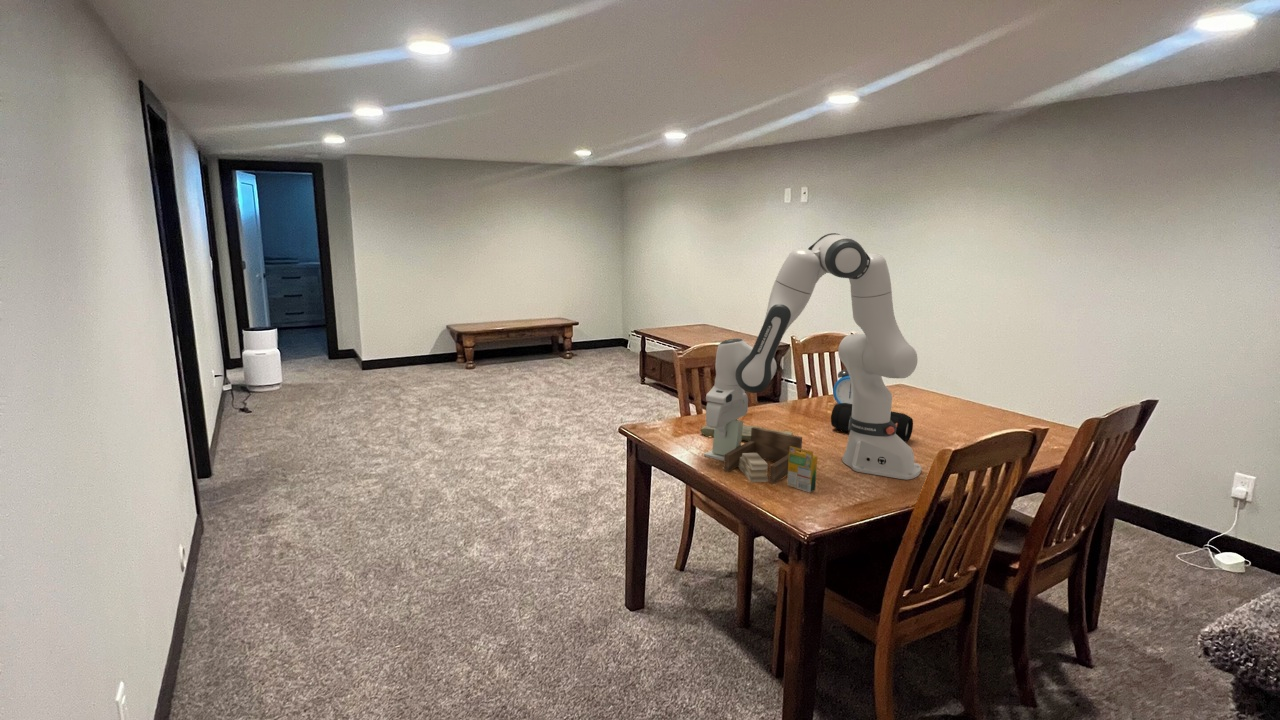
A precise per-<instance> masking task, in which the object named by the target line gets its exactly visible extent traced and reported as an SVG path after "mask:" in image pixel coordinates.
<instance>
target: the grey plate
mask: <svg viewBox="0 0 1280 720" xmlns="http://www.w3.org/2000/svg"><path fill="white" fill-rule="evenodd" d="M705 456H706V457H705ZM703 457H705V458H709V457H710V459H713V458H714V459H713V460H718V461H722V462H724V458H725V455H720V454H716V453H712V449H711V450H709V451H706V452H705V453H703Z"/></svg>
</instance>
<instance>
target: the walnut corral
mask: <svg viewBox="0 0 1280 720" xmlns="http://www.w3.org/2000/svg"><path fill="white" fill-rule="evenodd" d="M756 427H757V426H756ZM756 427H753V428H751V441H746V442H745V443H743V444H741V446H739V447H738V448H736V449H734V450H732V451H730V452H728V453H726V454H725V458H724V461H723V471H724V472H728V473H730V471H733V470H734V469H736V468H737V467H738V468H739V460H740V457H742V453H757V454H758V455H759V456H760V457H761V458H762V459H763V460H767V461H771V462H774V463H772V464H771V465H770V466H769V480H768V482H769V483H770V484H773V485H774V484H776V483H778V482H779V481H780V480H782V479H783V478H785V477H787V475H788V461H789V448H790V446H792V447H796V448H800V449H803V448H802V447H803V437H802V436H798V435H793V434H792V435H789V434H785V433H780V432H775V431H776V430H775V431H771V430H772V429H769V430H766V429H767V428H765V429H761V428H762V427H760V428H756ZM796 451H799V450H796ZM799 452H802V451H801V450H800V451H799Z"/></svg>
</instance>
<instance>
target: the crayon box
mask: <svg viewBox="0 0 1280 720" xmlns="http://www.w3.org/2000/svg"><path fill="white" fill-rule="evenodd" d="M796 450H799V451H800V450H801V452H799V451H796ZM817 469H818V456H817V455H814V451H810V450H808V449H804V448H802V449H800V448H796V447H792V446H790V448H789V461H788V475H786V477H787V479H786V487H791V488H793V489H794V488H795V489H798V490H801V491H804V492H807V493H809V494H811V493H812V492H813V491H815V490H816V482H817V481H816V480H817Z"/></svg>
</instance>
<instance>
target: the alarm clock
mask: <svg viewBox="0 0 1280 720" xmlns="http://www.w3.org/2000/svg"><path fill="white" fill-rule="evenodd" d="M837 377H838V380H836V382H835V383H834V386H833V388H832V391H833V392H832V394H833V398H834V400H835V401H836V404H840V403H849V404H852V401H853V390H852V384H851V380H850V376H849V373H848V371H847V369H841V370H840V371H839V372H838V373H837Z"/></svg>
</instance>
